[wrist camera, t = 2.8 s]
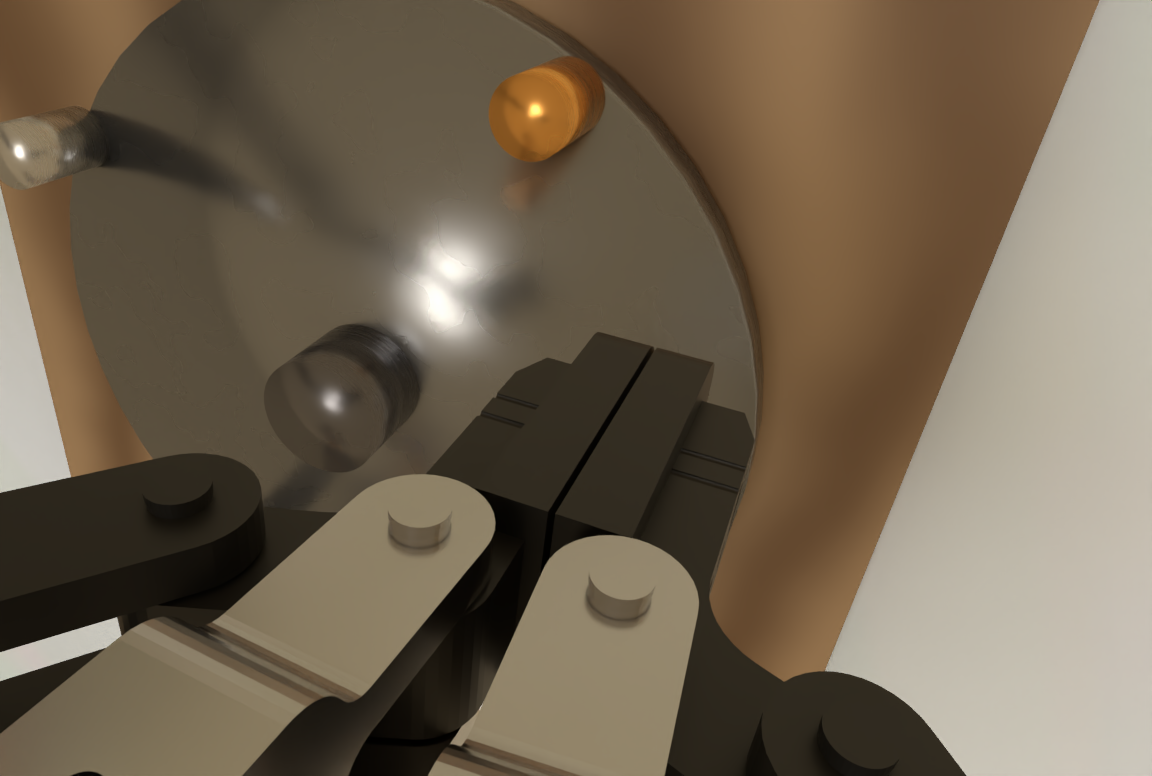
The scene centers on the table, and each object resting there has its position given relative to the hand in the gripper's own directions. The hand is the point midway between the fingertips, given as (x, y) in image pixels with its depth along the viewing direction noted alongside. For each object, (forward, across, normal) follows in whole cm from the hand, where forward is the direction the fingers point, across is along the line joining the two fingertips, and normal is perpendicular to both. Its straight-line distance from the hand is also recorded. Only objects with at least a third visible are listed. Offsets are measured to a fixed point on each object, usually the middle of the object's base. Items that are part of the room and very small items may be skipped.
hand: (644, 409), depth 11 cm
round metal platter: (+12, +10, +8) cm, 18 cm away
